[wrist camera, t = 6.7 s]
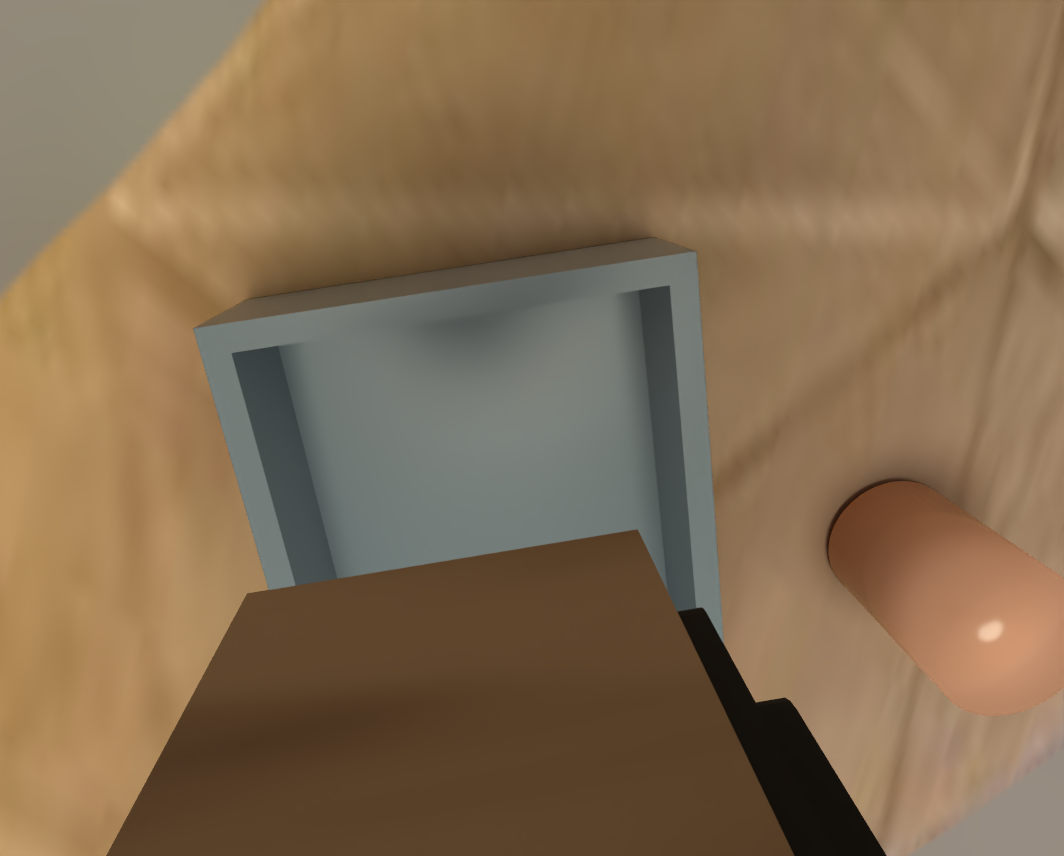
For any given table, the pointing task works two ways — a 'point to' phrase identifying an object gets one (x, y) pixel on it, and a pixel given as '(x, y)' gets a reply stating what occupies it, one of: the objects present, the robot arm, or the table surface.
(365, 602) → the walnut cube
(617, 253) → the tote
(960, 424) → the table surface
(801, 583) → the table surface
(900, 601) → the salmon orange cylinder
